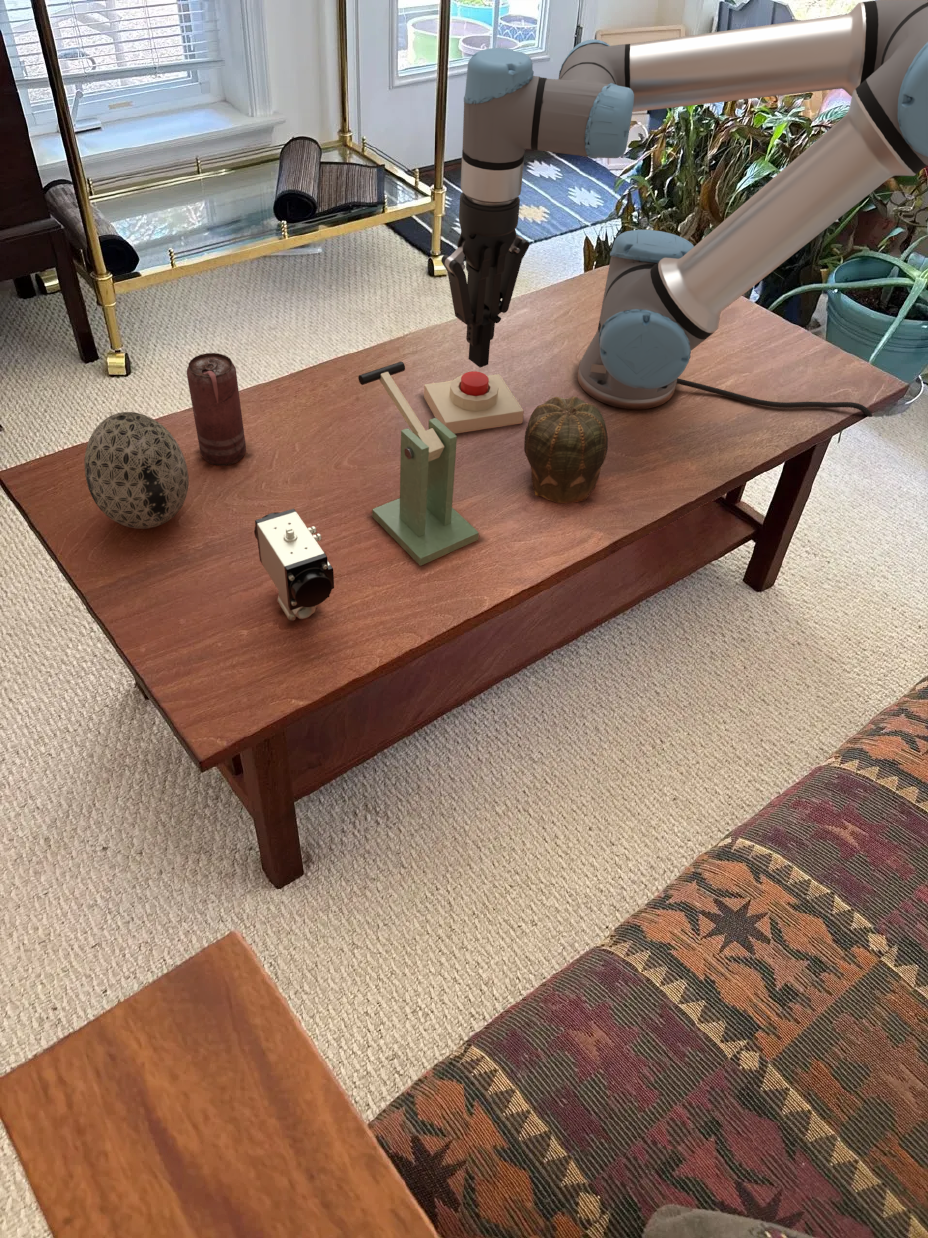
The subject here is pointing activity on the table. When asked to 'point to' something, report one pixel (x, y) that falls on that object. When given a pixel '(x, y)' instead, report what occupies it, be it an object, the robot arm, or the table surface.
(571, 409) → the dark green ribbed dome
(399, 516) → the bracket
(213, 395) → the can
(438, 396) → the control box
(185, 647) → the table surface
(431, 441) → the lever
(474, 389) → the button
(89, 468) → the decorative egg
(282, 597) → the pneumatic valve
